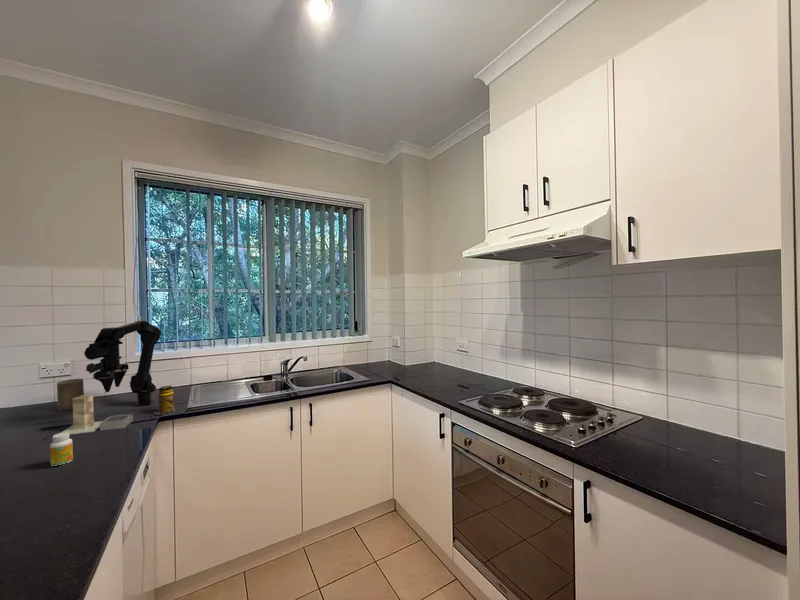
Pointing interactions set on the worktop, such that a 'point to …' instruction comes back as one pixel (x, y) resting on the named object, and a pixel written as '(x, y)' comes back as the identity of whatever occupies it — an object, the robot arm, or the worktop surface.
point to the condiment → (166, 399)
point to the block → (83, 412)
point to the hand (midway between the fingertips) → (112, 389)
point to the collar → (116, 422)
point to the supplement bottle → (61, 449)
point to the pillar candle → (69, 393)
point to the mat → (90, 429)
